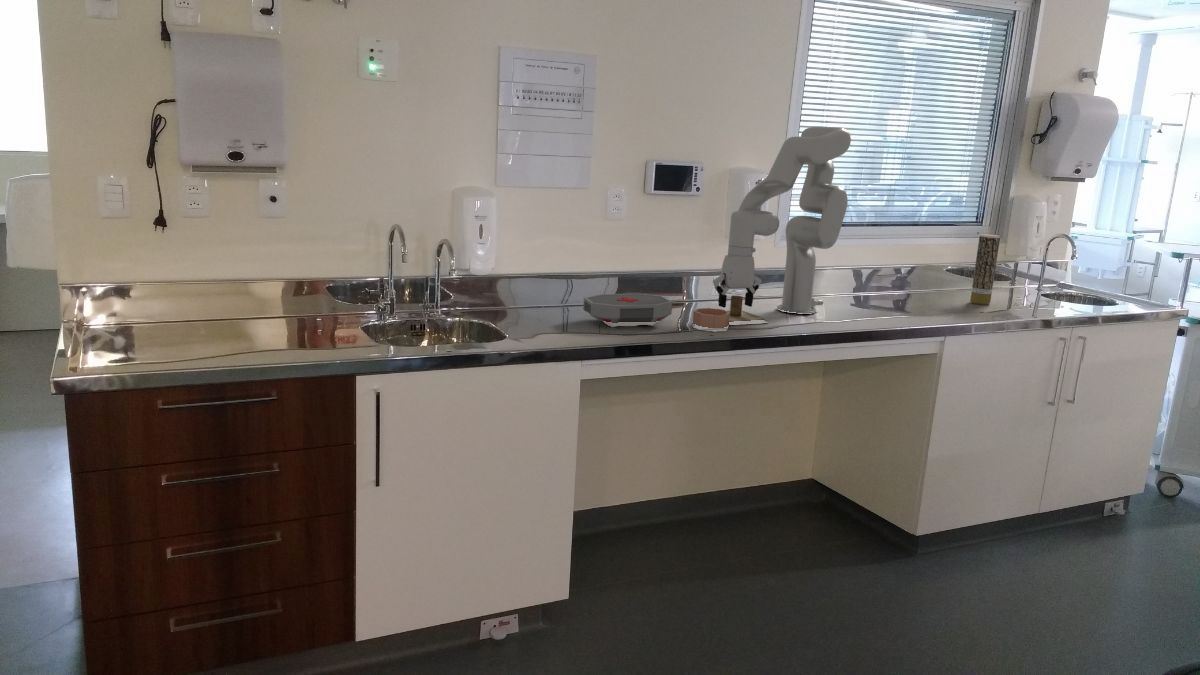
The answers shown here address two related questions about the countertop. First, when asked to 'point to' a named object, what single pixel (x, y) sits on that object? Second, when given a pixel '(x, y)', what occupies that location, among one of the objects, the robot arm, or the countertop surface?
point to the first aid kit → (628, 307)
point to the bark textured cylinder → (985, 269)
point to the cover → (740, 311)
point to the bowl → (711, 317)
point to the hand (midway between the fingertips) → (735, 306)
